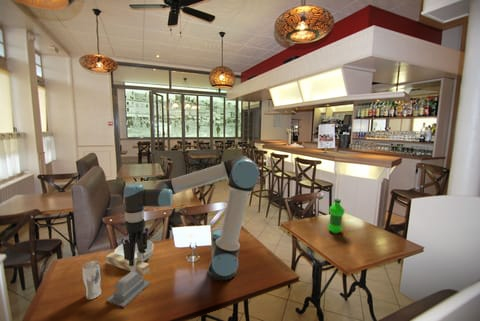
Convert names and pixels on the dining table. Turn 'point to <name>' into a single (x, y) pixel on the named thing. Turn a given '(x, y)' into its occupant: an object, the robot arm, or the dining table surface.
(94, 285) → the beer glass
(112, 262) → the beech bar
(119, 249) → the serving bowl
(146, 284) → the slate ridge
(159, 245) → the dining table surface
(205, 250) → the dining table surface
